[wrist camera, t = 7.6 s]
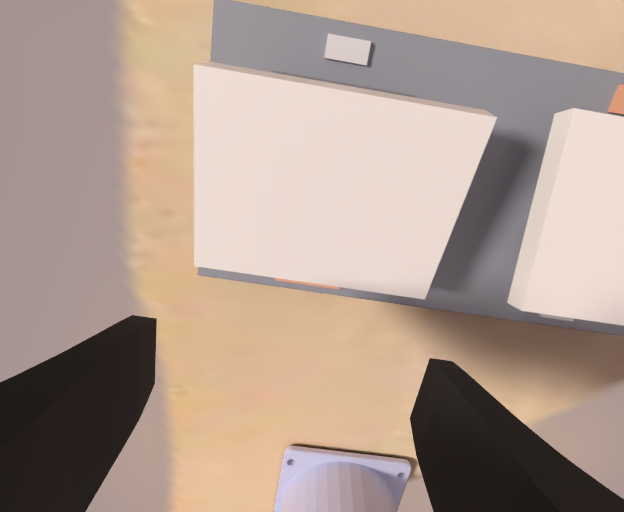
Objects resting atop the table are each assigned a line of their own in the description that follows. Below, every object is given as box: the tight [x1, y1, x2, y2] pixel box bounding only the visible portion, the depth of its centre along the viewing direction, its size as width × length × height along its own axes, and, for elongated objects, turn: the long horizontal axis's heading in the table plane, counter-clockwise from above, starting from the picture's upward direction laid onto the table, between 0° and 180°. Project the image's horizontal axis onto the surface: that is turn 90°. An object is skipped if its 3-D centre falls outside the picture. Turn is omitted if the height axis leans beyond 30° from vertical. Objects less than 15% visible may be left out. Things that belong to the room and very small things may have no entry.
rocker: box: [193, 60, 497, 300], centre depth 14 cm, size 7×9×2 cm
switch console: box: [198, 0, 624, 336], centre depth 17 cm, size 11×22×4 cm, turn 81°
